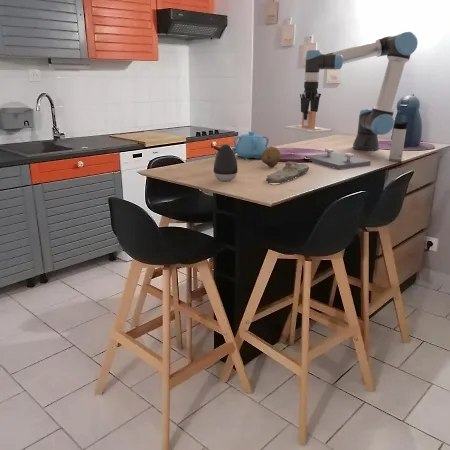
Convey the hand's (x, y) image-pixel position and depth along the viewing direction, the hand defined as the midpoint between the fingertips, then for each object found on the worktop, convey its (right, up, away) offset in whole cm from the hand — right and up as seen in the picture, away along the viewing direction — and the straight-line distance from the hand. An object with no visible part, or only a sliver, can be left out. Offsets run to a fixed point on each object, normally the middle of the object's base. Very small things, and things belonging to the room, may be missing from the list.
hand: (308, 125), depth 242 cm
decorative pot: (-33, -20, -10) cm, 39 cm away
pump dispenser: (-46, -36, -57) cm, 82 cm away
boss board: (+11, -23, -18) cm, 31 cm away
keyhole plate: (+1, -2, +1) cm, 3 cm away
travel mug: (+44, -21, -11) cm, 50 cm away
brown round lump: (-24, -28, -32) cm, 49 cm away
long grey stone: (-18, -34, -48) cm, 62 cm away
